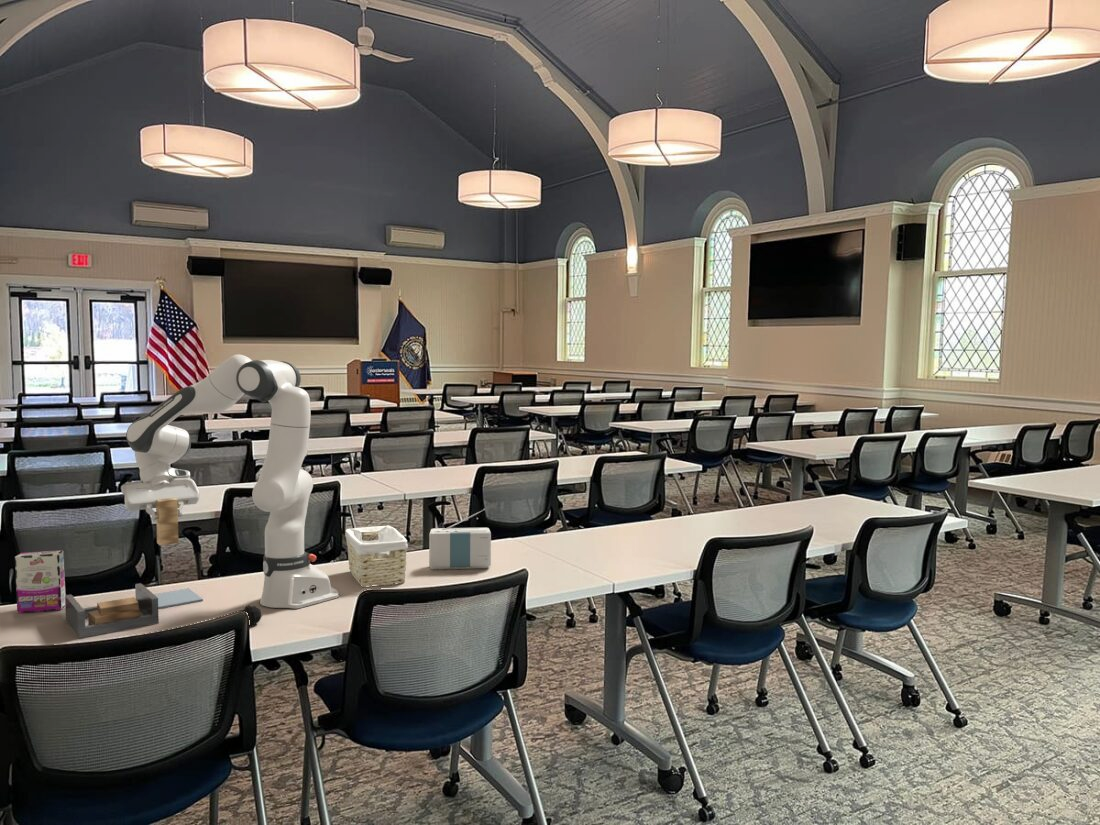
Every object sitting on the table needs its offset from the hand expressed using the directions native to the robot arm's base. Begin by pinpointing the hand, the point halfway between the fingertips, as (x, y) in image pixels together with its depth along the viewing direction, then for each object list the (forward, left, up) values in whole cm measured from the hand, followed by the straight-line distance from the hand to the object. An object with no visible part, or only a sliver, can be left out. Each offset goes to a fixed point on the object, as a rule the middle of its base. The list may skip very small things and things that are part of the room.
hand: (167, 517), depth 238 cm
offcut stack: (+17, +13, -25) cm, 33 cm away
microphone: (-4, +35, -26) cm, 44 cm away
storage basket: (-60, +15, -25) cm, 67 cm away
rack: (+18, +10, -25) cm, 32 cm away
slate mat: (0, -1, -25) cm, 25 cm away
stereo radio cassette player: (-88, +21, -25) cm, 95 cm away
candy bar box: (+31, -14, -25) cm, 42 cm away
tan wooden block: (0, -1, -8) cm, 8 cm away
